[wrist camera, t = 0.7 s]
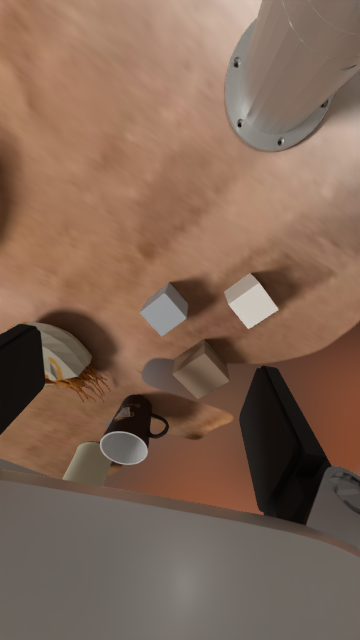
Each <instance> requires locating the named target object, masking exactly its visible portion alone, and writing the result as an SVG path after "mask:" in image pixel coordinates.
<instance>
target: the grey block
mask: <svg viewBox="0 0 360 640" xmlns="http://www.w3.org/2000/svg"><path fill="white" fill-rule="evenodd" d="M187 312H188V303H187V302H186V301H185V300H184V299H183V297H182V296H181V295H180V294H179V293H178V292H177V290H176V289H175V288H174V287H173V286H172V285H171V283H170V282H169V283H167V284H166V285H165V286H164V287H162V288H161V289H160V290H159V291H158V292H156V293H155V294H154V295H153V296H152V297H150V298H149V299H148V300H147V301H146V303H145V305H144V306H143V308H142V310H141V311H140V314H141V315H142V316H143V317H144V318H145V319H146V320H147V321H148V323H149V324H150V325H151V326H152V327H153V328H154V329H155V330H156V331H157V332H158V333H159V334H160V335H161V336H163V335H164V334H166V333H167V332H169V331H170V330H171V329H173V328H174V327H175V326H177V325H178V324H179V323H181V322H182V321H184V320H185V319H186V318H187Z"/></svg>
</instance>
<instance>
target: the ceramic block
mask: <svg viewBox="0 0 360 640" xmlns="http://www.w3.org/2000/svg"><path fill="white" fill-rule="evenodd" d="M224 293H225V296H226V299H227V302H228V304H229V306H230V307H231V308H232V309H233V311H234V312H235V313H236V314H237V316H238V317H239V318H240V320H241V321H242V322H243V323H244V325H245V326H246V327H247V328H248V329H249V328H251V327H253V326H254V325H256V324H257V323H259V322H260V321H262V320H263V319H265V318H267V317H268V316H270V315H271V314H273V313H274V312H276V311H277V310H279V309H278V308H277V307H276V305H275V304H274V302H273V301H272V300H271V298H270V297H269V295H268V294H267V293H266V291H265V290H264V288H263V287H262V286H261V284H260V283H259V282H258V281H257V280H256V279H255V278H254V277H253V275H252V274H251V273H249V274H248V275H246V276H245V277H244V278H242V279H241V280H240V281H238V282H237V283H236V284H234V285H233V286H231V287H230V288H229V289H227V290H226V291H225V292H224Z"/></svg>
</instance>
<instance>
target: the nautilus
mask: <svg viewBox="0 0 360 640" xmlns="http://www.w3.org/2000/svg"><path fill="white" fill-rule="evenodd" d="M18 324H27V325H33V326H36V327H37V329H38V330H39V331H40V332H41V339H42V349H43V359H44V370H45V380H46V381H45V385H44V386H45V387H52V388H53V387H55V388H67V387H69V388H71V389H73V390H75V389H74V388H72V387H76V388H77V390H78V391H79V390H80V391H79V392H81V393H83V394H84V395H85V397H86V398H87V396H89V395H87V394H85V392H84V391H83V390H82V389H81V388H80V387H83V386H84V387H86V388H89V387H90V386H89V387H87V386H88V385H87V384H86V383H85V382H84V381H88V382H89V383H92V384H93V385H94V383H93V382H91V381H90V380H92V381H94V382H96V384H97V385H98V386H99V384H98V383H97V378H98V379H99V380H101V379H100V378H102V377H100V376H99V375H97V374H96V373H95V370H94V369H93V367H91V366H90V365H89V364H91V363H90V362H91V359H92V355H91V354H90V353H89V352H88V350H87V349H86V348H85V347H84V346H83V345H82V343H81V342H80V341H79V340H78V339H77V338H75V337H74V336H73V335H72V334H71V333H69V332H68V331H65V330H62V329H61V328H58V327H55V326H53V325H50V324H44V323H35V322H22V323H18ZM18 324H15V325H13V326H11V327H10V328H8V329H7V330H9V329H11V328H12V327H14V326H16V325H18ZM7 330H5V331H4V332H6V331H7ZM4 332H3V333H4ZM91 365H92V364H91ZM92 366H93V365H92ZM87 367H88V368H89V369H90V370H91V368H92V369H93V371H94V372H93V371H92V370H91V371H89V370H87V369H86V368H87ZM90 367H91V368H90ZM94 367H95V366H94ZM96 368H97V367H96ZM98 369H99V368H98ZM93 373H94V374H93ZM87 374H89V375H91V376H92V375H93V376H94V377H95V378H96V379H95V378H94V377H93V376H92V377H93V378H94V379H95V380H94V379H92V378H91V377H89V375H87ZM96 375H97V376H99V377H100V378H99V377H97V376H96ZM102 379H105V378H102ZM81 380H83V381H81ZM105 380H107V379H105ZM101 381H102V380H101ZM102 382H103V381H102ZM84 383H85V384H86V385H87V386H85V384H84ZM103 383H104V382H103ZM104 384H105V383H104ZM105 385H106V384H105ZM94 386H95V385H94ZM106 386H107V385H106ZM95 387H96V386H95ZM79 388H80V389H79ZM99 388H100V389H101V387H100V386H99ZM107 388H108V386H107ZM89 389H91V387H90V388H89ZM96 389H97V390H98V391H99V392H100V390H99V389H98V388H97V387H96ZM108 389H109V388H108ZM77 390H75V391H76V392H77V393H78V391H77ZM91 390H92V391H93V392H94V393H95V394H96V392H95V391H94V389H93V388H92V389H91ZM101 390H102V389H101ZM109 391H110V389H109ZM102 392H103V390H102ZM100 394H101V392H100ZM103 394H104V392H103ZM78 395H79V396H80V394H79V393H78ZM96 395H97V394H96ZM101 395H102V394H101ZM97 396H98V395H97ZM104 396H105V395H104ZM89 397H91V396H89ZM98 397H99V396H98ZM102 397H103V396H102ZM80 398H81V396H80ZM91 398H92V397H91ZM99 398H100V399H101V397H99ZM81 399H82V398H81ZM87 399H88V398H87ZM92 399H93V398H92ZM93 400H94V401H95V399H93ZM101 400H102V399H101ZM82 401H83V399H82ZM102 401H103V400H102ZM103 402H104V401H103ZM83 403H84V401H83Z"/></svg>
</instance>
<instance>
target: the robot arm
mask: <svg viewBox="0 0 360 640" xmlns="http://www.w3.org/2000/svg"><path fill="white" fill-rule="evenodd" d="M234 65H238V68H235V67H234ZM359 70H360V0H262V3H261V6H260V10H259V13H258V17H257V19H255V20H254V21H253V22H252V23H251V24H250V25H249V27H248V28H247V29H246V31H245V32H244V33H243V35H242V36H241V38H240V40H239V42H238V43H237V45H236V47H235V49H234V52H233V54H232V57H231V60H230V62H229V66H228V71H227V75H226V82H225V107H226V113H227V116H228V119H229V123H230V125H231V127H232V129H233V131H234V132H235V134H236V135H237V136H238V138H239V139H240V140H241V141H242V142H243V143H245V144H246V145H247V146H249V147H250V148H253V149H255V150H257V151H262V152H277V151H281V150H285V149H287V148H289V147H291V146H293V145H295V144H297V143H298V142H300V141H301V140H303V139H304V138H305V137H306V136H307V135H308V134H310V133H311V132H312V131H313V130H314V129H315V127H316V126H317V125H318V124H319V123H320V122H321V120H322V118H323V117H324V115H325V114H326V112H327V111H328V109H329V107H330V104H331V102H332V100H333V98H334V95H335V92H336V91H337V90H338V89H339V88H341V87H342V86H343V85H344V84H345V83H346V82H347V81H348V80H349V79H350V78H351V77H353V76H354V75H355V74H356V73H357V72H358V71H359ZM321 105H322V108H321V107H320V106H321ZM238 124H241V127H240V128H238V126H237V125H238ZM278 141H280V142H281V145H280V146H279V145H278ZM45 381H46V380H45V370H44V359H43V349H42V339H41V332H40V331H39V330H38V329H37V327H36V326H33V325H27V324H18V325H16V326H14V327H12V328H11V329H9V330H7V331H6V332H4V333H2V334H0V435H1V434H2V433H3V431H4V430H5V429H6V428H7V427H8V426H9V425H10V424H11V423H12V422H13V421H14V419H15V418H16V417H17V416H18V415H19V414H20V413H21V412H22V411H23V410H24V409H25V407H26V406H27V405H28V404H29V403H30V402H31V401H32V400H33V399H34V398H35V397H36V395H37V394H38V393H39V392H40V391H41V390H42V389H43V387H44V385H45ZM239 421H240V427H241V432H242V436H243V441H244V445H245V450H246V455H247V459H248V463H249V468H250V473H251V477H252V482H253V487H254V491H255V496H256V500H257V505H258V508H259V510H260V511H262V512H264V515H259V514H254V513H249V512H243V511H238V510H233V509H228V508H223V507H218V506H212V505H206V504H200V503H195V502H189V501H184V500H178V499H172V498H167V497H161V496H155V495H149V494H144V493H138V492H133V491H127V490H121V489H115V488H109V487H103V486H98V485H92V484H86V483H80V482H74V481H68V480H62V479H56V478H50V477H44V476H38V475H32V474H26V473H20V472H14V471H8V470H2V469H0V640H360V477H359V476H358V475H357V474H355V473H353V472H351V471H349V470H347V469H345V468H342V467H336V466H331V464H330V463H329V461H328V459H327V457H326V455H325V453H324V451H323V449H322V448H321V446H320V444H319V442H318V440H317V439H316V437H315V435H314V433H313V431H312V430H311V428H310V426H309V424H308V422H307V421H306V419H305V417H304V415H303V413H302V412H301V410H300V408H299V406H298V404H297V403H296V401H295V399H294V397H293V395H292V394H291V392H290V390H289V388H288V387H287V385H286V383H285V381H284V379H283V378H282V376H281V374H280V372H279V370H278V369H277V368H274V367H268V366H262V367H261V368H257V369H256V372H255V374H254V377H253V380H252V383H251V386H250V388H249V391H248V394H247V396H246V399H245V402H244V405H243V408H242V410H241V413H240V419H239Z"/></svg>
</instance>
